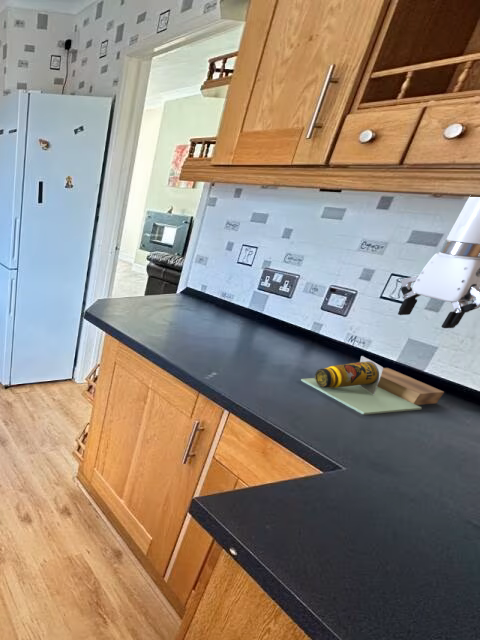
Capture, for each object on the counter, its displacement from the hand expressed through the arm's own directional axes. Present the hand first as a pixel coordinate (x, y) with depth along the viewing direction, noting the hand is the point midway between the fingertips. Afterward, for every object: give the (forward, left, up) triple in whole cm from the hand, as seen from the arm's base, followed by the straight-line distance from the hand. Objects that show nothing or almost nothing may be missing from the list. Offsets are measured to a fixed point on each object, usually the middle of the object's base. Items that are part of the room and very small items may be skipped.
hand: (424, 320), depth 103 cm
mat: (+8, 0, -21) cm, 22 cm away
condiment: (+5, -2, -16) cm, 17 cm away
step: (-5, 0, -21) cm, 22 cm away
